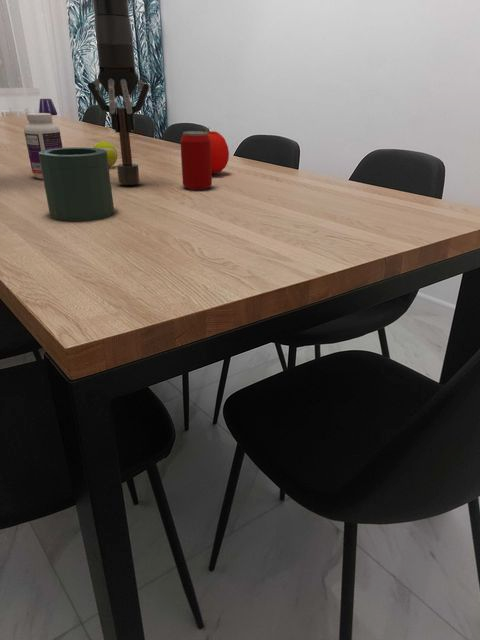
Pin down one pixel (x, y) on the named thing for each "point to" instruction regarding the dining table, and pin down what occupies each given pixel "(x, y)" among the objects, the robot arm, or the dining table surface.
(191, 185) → the beverage can
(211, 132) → the tomato
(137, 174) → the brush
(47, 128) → the pill bottle
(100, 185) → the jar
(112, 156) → the tennis ball
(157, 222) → the dining table surface
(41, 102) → the toy lamp
